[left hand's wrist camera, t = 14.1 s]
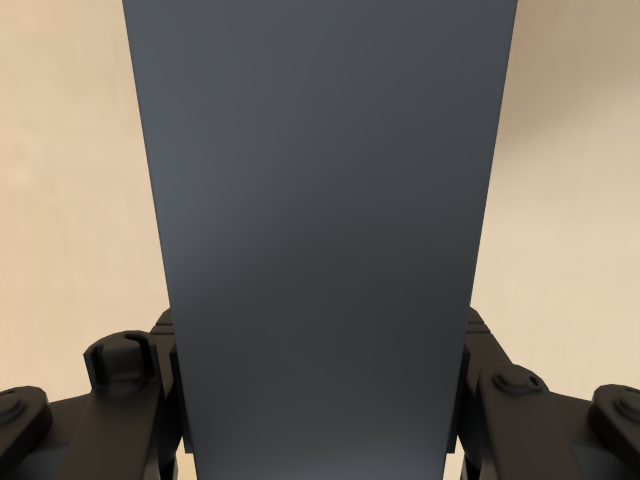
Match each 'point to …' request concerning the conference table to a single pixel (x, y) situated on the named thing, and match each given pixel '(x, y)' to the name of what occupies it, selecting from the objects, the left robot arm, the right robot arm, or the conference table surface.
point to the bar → (319, 221)
